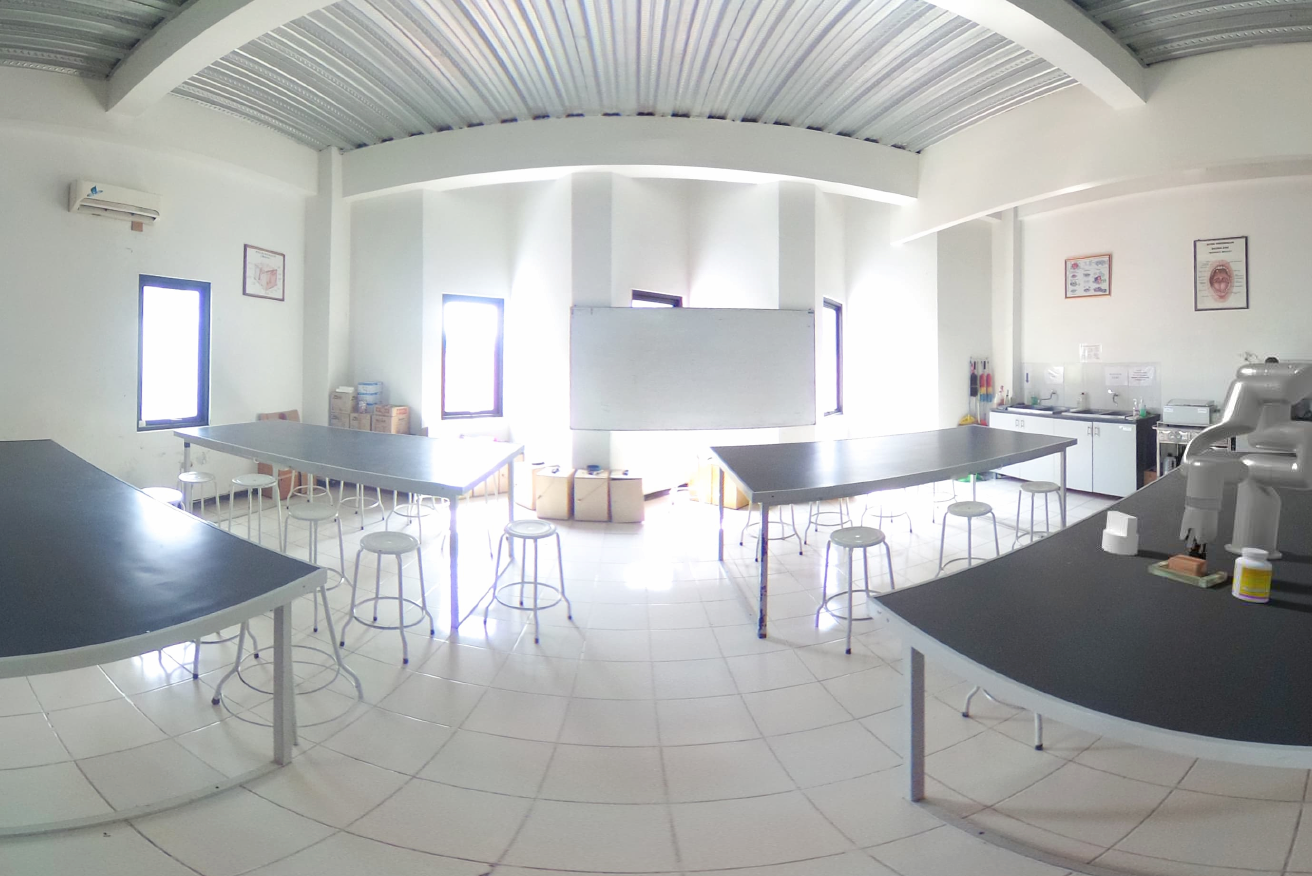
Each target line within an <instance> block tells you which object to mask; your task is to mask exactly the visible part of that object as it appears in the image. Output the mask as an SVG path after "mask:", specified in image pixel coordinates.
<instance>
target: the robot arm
mask: <svg viewBox="0 0 1312 876" xmlns="http://www.w3.org/2000/svg"><path fill="white" fill-rule="evenodd" d="M1235 376H1236V378H1235V379H1233V380H1232V381H1231V382H1230V384H1229V386H1228V389H1227V392H1226V394H1225V398H1224V400H1223V402H1222V406H1221V408H1220V411H1219V413H1218V416H1217V420H1216V421H1215V422H1214V423H1212V424H1210V425H1209V426H1207V427H1204V429H1202V430H1200V431H1199V432H1198V433H1197V434H1196V435H1194V436H1193V437H1192V438H1191V439H1190V440H1189V442H1188V443H1187V445H1186V446H1185V449H1184V452H1183V455H1182V457H1181V460H1180V464H1179V471H1180V474H1181V475H1182V476H1183V477H1184V478H1186V479H1187V480H1186V482H1187V483H1186V489H1185V491H1186V492H1185V500H1184V507H1185V510H1184V513H1183V517H1182V521H1181V528H1180V533H1179V540H1180V541H1182V542H1186V541H1187V542H1186V543H1187V544H1186V547H1187V548H1188V551H1189V553H1188V556H1189V557H1193V558H1198V559H1202V560H1206V561H1207V559H1206V558H1207V552H1208V548H1209V547H1208V546H1209V545H1210V544H1211V543H1212V542H1213V541H1215V540H1216V539H1217V535H1218V527H1219V526H1218V525H1219V524H1218V523H1219V512H1220V511H1222V504H1223V493H1224V485H1227V486H1235V485H1237V498H1236V507H1235V513H1234V514H1235V515H1234V523H1233V531H1232V540H1231V543H1228V544H1224V550H1225V551H1227V552H1228V553H1231V554H1235V555H1237V556H1240V557H1242V556H1243V554H1242V548H1256V549H1261V550H1264V551H1267V552H1268V557H1267V558H1266V560H1279V559H1282V558H1283V553H1281V552H1280V551H1278V550H1276V547H1277V546H1276V545H1277V539H1278V532H1279V531H1278V530H1279V524H1280V523H1279V522H1280V515H1281V507H1282V506H1281V505H1282V501H1281V497H1280V495H1279V494H1278V492H1277V491H1276V490H1275V489H1274V488H1284V489H1289V490H1290V489H1291V490H1299V491H1310V490H1312V421H1305V420H1292V419H1291V411H1292V406H1293V405H1294V406H1295V405H1296V404H1298V403H1299V402H1300V401H1302V400H1303V399H1305V397H1307V396H1308V395H1309V394H1310V393H1312V363H1310V362H1309V363H1308V362H1254V363H1246V364H1243V365H1241V366H1240V367H1238V368H1237V370H1236V373H1235ZM1244 435H1247V437H1246V438H1247V443H1248V445H1249V446H1250V447H1252V448H1254V449H1258V450H1264V451H1273V452H1274V451H1275V452H1283V453H1294V454H1295V455H1296V456H1285V455H1277V454H1267V453H1266V454H1265V453H1248V454H1245V455H1242V456H1241V457H1240V458H1239V459H1237V458H1230V457H1220V456H1216V455H1215V456H1214V455H1203V452H1204V451H1205V449H1207V448H1208V447H1209V446H1211V445H1213V444H1216V443H1217V442H1221V441H1223V440H1227V439H1231V438H1236V437H1239V436H1244Z"/></svg>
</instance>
